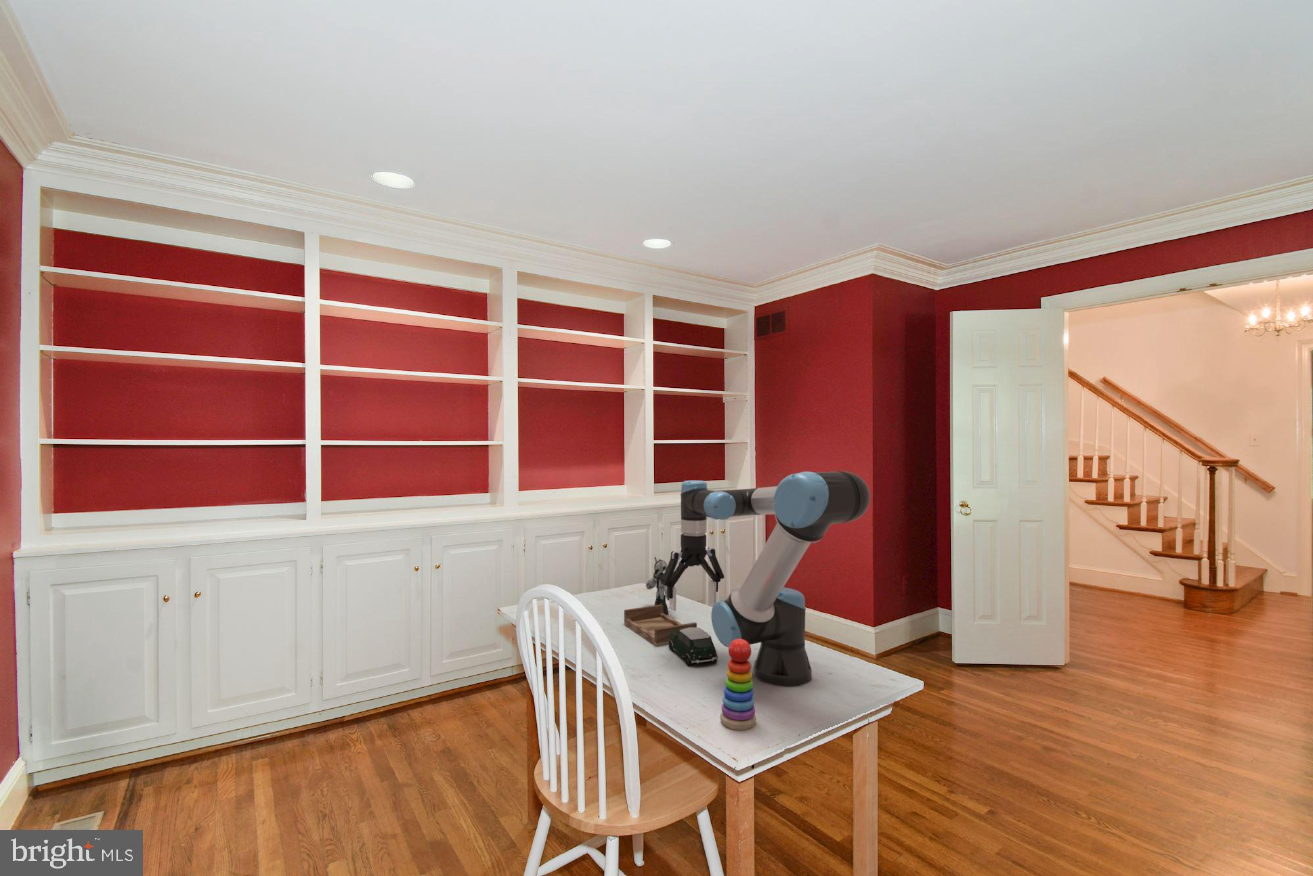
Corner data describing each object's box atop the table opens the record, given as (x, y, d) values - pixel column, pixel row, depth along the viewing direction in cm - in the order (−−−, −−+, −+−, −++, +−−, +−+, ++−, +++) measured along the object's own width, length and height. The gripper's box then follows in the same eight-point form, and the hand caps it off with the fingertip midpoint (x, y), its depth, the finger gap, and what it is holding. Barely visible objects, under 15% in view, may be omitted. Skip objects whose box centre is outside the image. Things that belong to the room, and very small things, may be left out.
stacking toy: (716, 727, 130) (716, 642, 130) (725, 711, 137) (725, 631, 137) (751, 734, 127) (752, 647, 127) (759, 717, 134) (759, 635, 134)
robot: (678, 619, 206) (679, 562, 206) (666, 621, 204) (666, 563, 204) (654, 604, 223) (654, 552, 223) (642, 606, 221) (642, 553, 221)
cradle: (696, 639, 186) (696, 623, 186) (656, 646, 179) (656, 630, 179) (661, 618, 207) (661, 604, 207) (624, 624, 200) (624, 609, 200)
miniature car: (693, 644, 182) (693, 618, 182) (720, 665, 165) (720, 637, 165) (666, 647, 179) (666, 621, 179) (690, 670, 162) (691, 640, 162)
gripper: (721, 528, 181) (721, 597, 181) (649, 534, 170) (649, 608, 170) (736, 532, 175) (735, 604, 175) (661, 539, 163) (661, 615, 163)
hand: (692, 606), depth 172 cm, fingers open, 13 cm apart
